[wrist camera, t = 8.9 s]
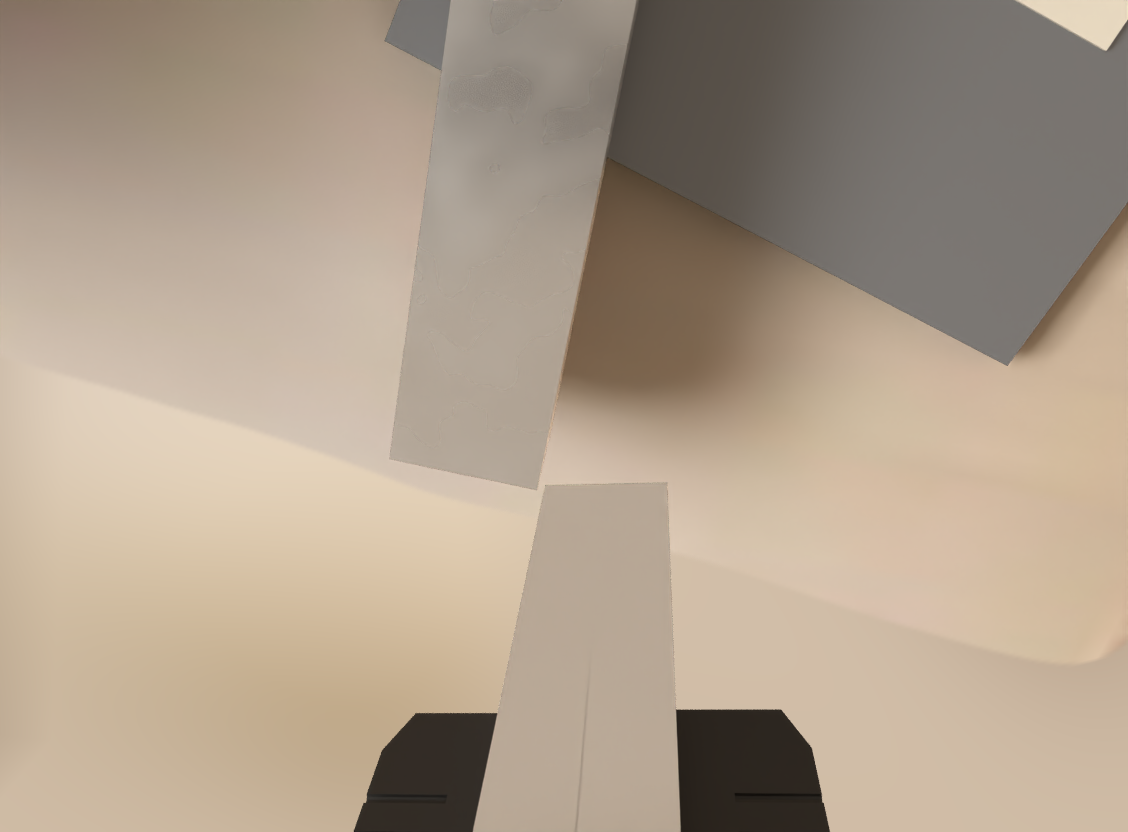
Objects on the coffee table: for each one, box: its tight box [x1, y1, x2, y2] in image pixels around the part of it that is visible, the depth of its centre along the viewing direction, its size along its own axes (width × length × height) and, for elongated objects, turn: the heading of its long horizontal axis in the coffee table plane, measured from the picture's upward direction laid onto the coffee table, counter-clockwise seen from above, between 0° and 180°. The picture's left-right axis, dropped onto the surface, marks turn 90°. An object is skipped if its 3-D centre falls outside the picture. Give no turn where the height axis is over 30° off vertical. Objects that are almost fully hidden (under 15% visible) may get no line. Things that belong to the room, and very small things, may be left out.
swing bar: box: [389, 0, 639, 490], centre depth 24 cm, size 21×4×6 cm, turn 169°
